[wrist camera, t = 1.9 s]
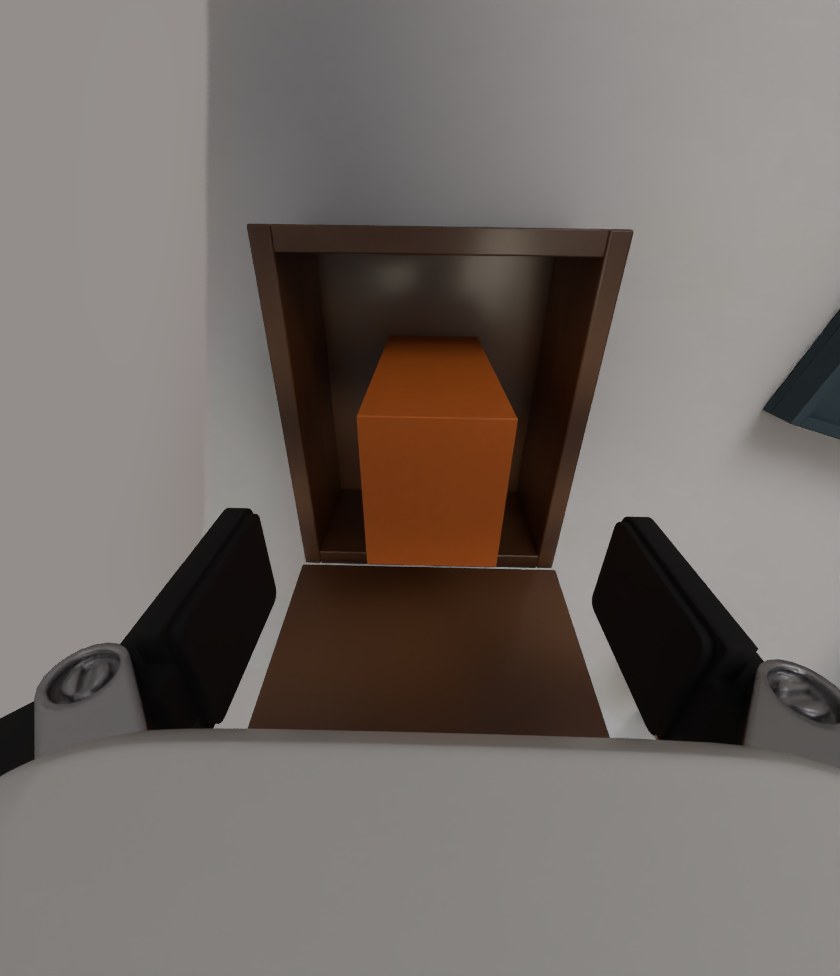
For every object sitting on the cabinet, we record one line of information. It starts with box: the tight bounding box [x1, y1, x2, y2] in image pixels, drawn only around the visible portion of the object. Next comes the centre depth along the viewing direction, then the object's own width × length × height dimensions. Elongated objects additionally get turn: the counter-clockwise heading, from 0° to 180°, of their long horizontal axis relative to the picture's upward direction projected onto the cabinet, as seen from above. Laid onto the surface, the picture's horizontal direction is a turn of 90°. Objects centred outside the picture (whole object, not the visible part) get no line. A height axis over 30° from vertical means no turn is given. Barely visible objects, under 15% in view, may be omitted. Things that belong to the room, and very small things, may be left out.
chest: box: [247, 224, 633, 568], centre depth 20 cm, size 15×13×7 cm
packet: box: [357, 335, 518, 567], centre depth 17 cm, size 6×4×11 cm
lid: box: [248, 565, 610, 738], centre depth 16 cm, size 15×13×5 cm
